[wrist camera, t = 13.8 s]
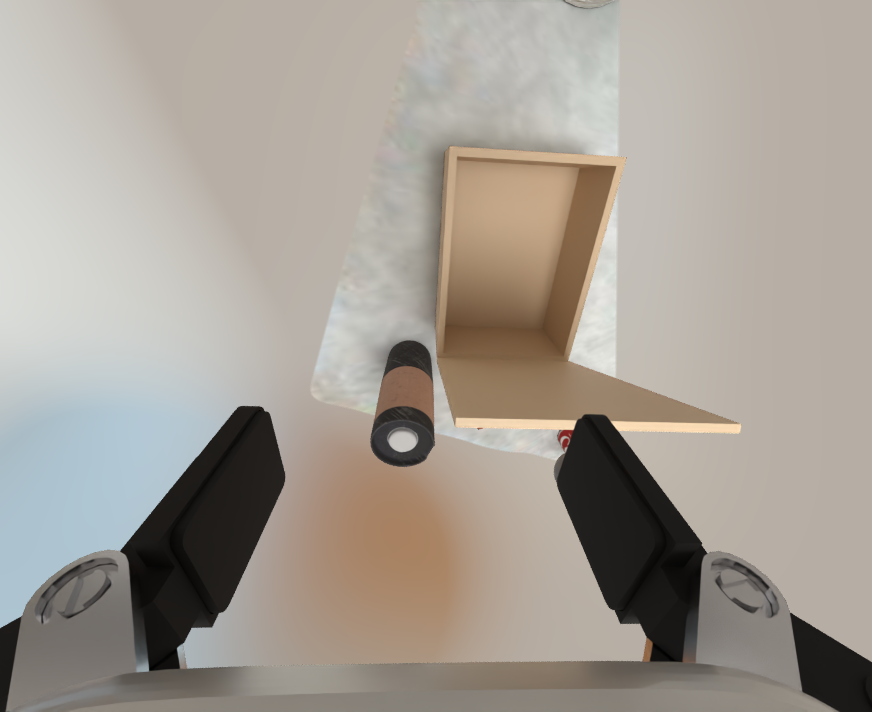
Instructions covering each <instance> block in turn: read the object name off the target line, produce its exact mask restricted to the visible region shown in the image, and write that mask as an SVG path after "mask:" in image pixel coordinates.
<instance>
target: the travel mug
mask: <svg viewBox="0 0 872 712" xmlns="http://www.w3.org/2000/svg"><path fill="white" fill-rule="evenodd" d="M433 446H435V441H434V395H433V377H432V366H431V357H430V354H429V351H428V350H427V349H426V347H424V346H423V345H422V344H420V343H418V342H415V341H404V342H401V343H399V344H397V345H396V346H395V347H393V349H392V350H391V352H390V354H389V357H388V361H387V365H386V368H385V372H384V376H383V379H382V383H381V388H380V393H379V398H378V403H377V409H376V414H375V419H374V424H373V430H372V434H371V448H372V451H373V453H374V454H375V455H376V456H377V457H378V458H379V459H380V460H381V461H383V462H385V463H387V464H389V465H393V466H398V467H407V466H413V465H417V464H419V463H421V462H423V461H425V460H426V458H427V456H428V454H429V453H430V451H431V449H432V448H433Z"/></svg>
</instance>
